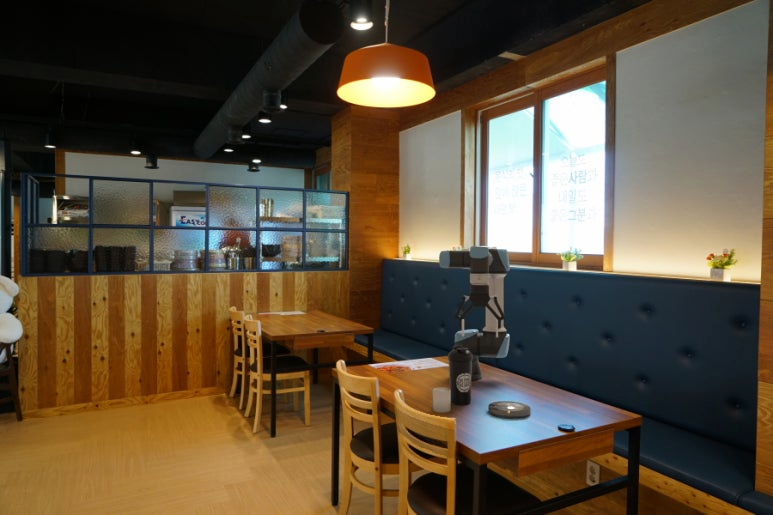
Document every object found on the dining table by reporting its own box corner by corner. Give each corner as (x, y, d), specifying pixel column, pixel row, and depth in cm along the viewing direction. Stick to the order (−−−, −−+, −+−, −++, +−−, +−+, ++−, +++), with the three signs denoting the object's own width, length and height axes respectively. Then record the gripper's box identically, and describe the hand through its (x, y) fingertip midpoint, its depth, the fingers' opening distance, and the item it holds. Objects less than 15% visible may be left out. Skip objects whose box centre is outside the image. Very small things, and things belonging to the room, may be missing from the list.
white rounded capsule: (434, 406, 209) (434, 386, 209) (451, 407, 208) (451, 387, 207) (431, 411, 203) (431, 391, 202) (449, 413, 201) (449, 392, 201)
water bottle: (454, 406, 209) (453, 350, 209) (444, 399, 219) (444, 345, 218) (477, 404, 212) (476, 348, 211) (466, 397, 221) (466, 344, 221)
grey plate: (489, 404, 211) (489, 399, 211) (530, 407, 207) (530, 402, 207) (487, 417, 196) (487, 411, 196) (530, 420, 192) (530, 414, 192)
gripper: (447, 284, 208) (448, 336, 209) (511, 284, 202) (511, 338, 203) (449, 283, 215) (450, 333, 216) (511, 283, 210) (511, 335, 210)
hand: (479, 336), depth 209 cm, fingers open, 13 cm apart
